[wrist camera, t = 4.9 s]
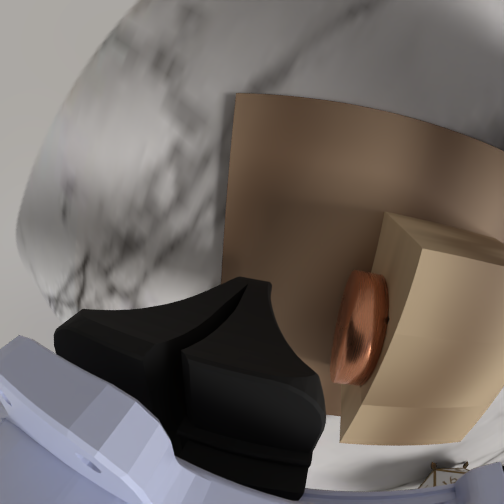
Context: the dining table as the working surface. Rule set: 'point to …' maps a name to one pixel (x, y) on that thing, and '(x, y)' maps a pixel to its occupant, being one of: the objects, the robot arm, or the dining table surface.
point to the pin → (360, 328)
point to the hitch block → (375, 254)
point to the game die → (443, 476)
